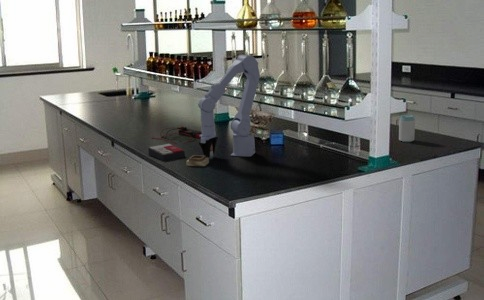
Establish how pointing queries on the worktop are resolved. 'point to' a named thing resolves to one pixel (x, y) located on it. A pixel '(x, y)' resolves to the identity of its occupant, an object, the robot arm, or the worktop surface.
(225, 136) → the worktop surface
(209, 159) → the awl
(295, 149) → the worktop surface
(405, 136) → the can
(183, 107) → the worktop surface
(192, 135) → the digital clamp meter
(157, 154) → the calculator
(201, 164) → the tan rectangular frame
